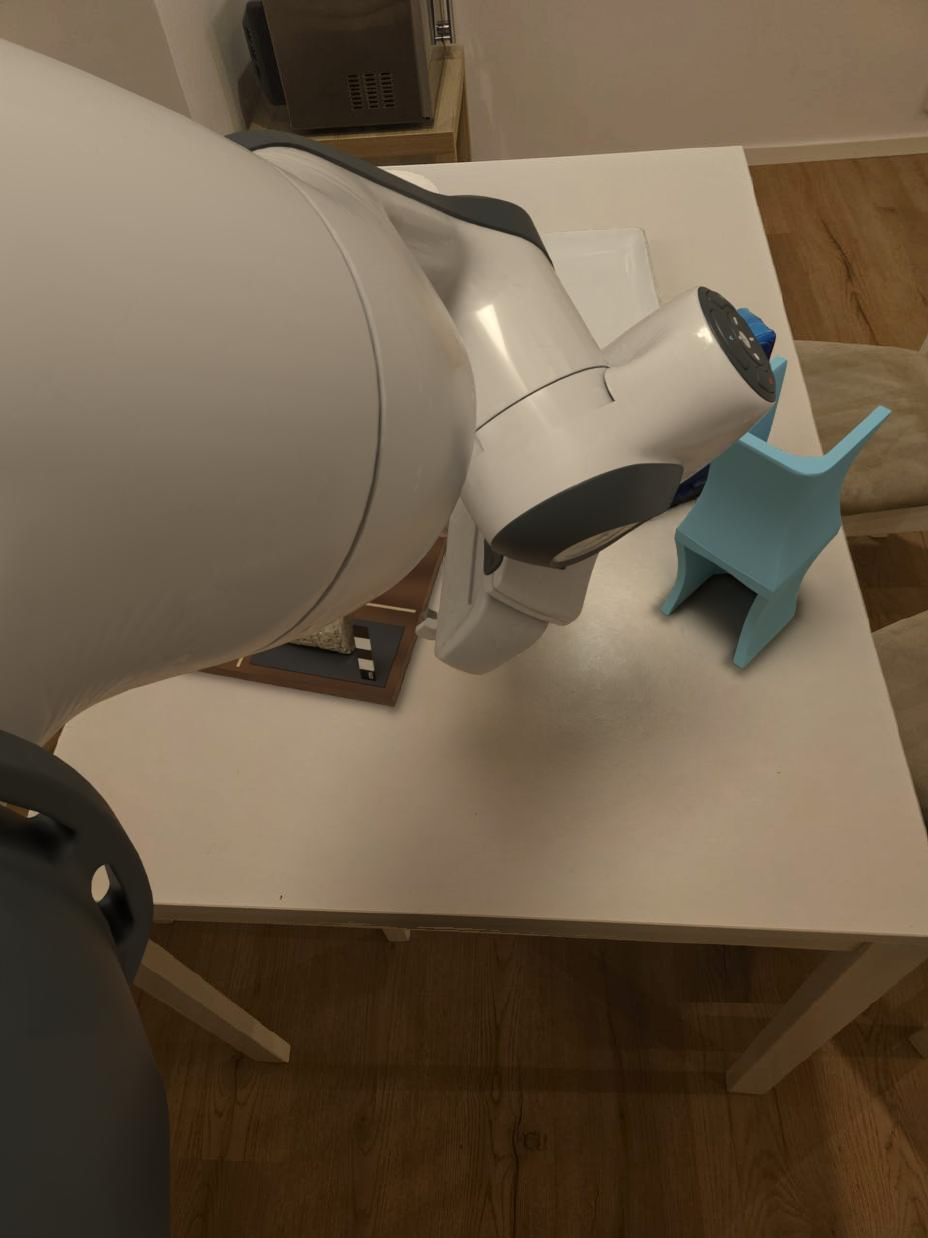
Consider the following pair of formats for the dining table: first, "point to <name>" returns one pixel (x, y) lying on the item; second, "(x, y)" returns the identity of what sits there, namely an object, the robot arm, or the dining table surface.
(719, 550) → the light blue toy chair
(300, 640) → the cuneiform tablet
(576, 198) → the dining table surface
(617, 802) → the dining table surface
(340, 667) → the board
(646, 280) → the square plate
